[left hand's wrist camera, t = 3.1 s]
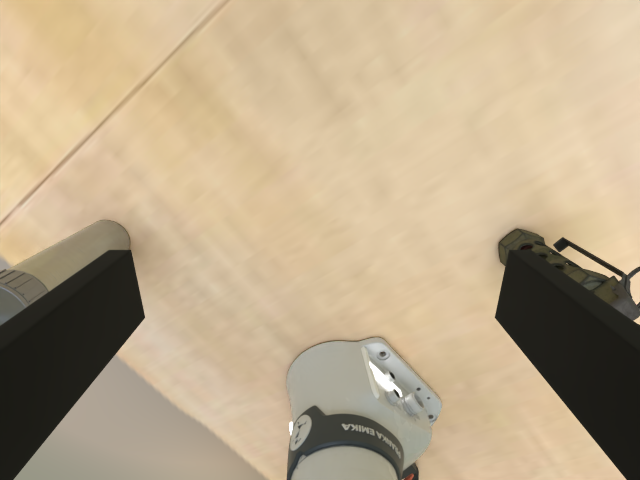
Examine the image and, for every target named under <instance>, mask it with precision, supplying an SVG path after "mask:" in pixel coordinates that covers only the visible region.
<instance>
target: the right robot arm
mask: <svg viewBox="0 0 640 480" xmlns="http://www.w3.org/2000/svg"><path fill="white" fill-rule="evenodd" d="M382 351H384V353H380V352H382ZM286 387H287V392H288V395H289V400H290V406H291V414H292V422H290V434H291V438H290V444H289V452H288V467H287V480H402V479H404V478H405V479H404V480H418V468H417V467H416V465H415V461H416V460H417V459H418V458H420V457H421V455H422V454H423V453H424V452H425V451H426V449H427V448H428V446H429V444H430V441H431V437H432V429H431V426H432V425H433V424H434V422H435V421H436V419H437V418H438V416H439V414H440V411H441V408H442V403H441V400H440V398H439V397H438V396H437V395H436V394H435V392H434V391H433V390H432V389H431V388H430V387H429V386H428V385H427V384H426V383H425V382H424V381H423V380H422V379H421V378H420V377H419V376H418V375H417V374H416V373H415V372H414V371H413V369H412V368H411V367H410V366H409V365H408V364H407V363H406V362H405V361H404V360H403V359H402V358H401V357H400V356H399V355H398V354H397V353H396V352H395V351H394V350H393V349H392V348H391V346H390V345H389V344H388V343H387V342H386V341H385V340H384V339H382V338H379V337H374V338H369V339H365V340H362V341H358V342H349V341H332V342H326V343H322V344H319V345H316V346H314V347H311V348H309V349H308V350H306V351H304V352H303V353H302V354H301V355H299V356H298V357H297V358H296V359H295V361H294V362H293V363H292V365H291V367H290V369H289V371H288V374H287V379H286Z"/></svg>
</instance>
